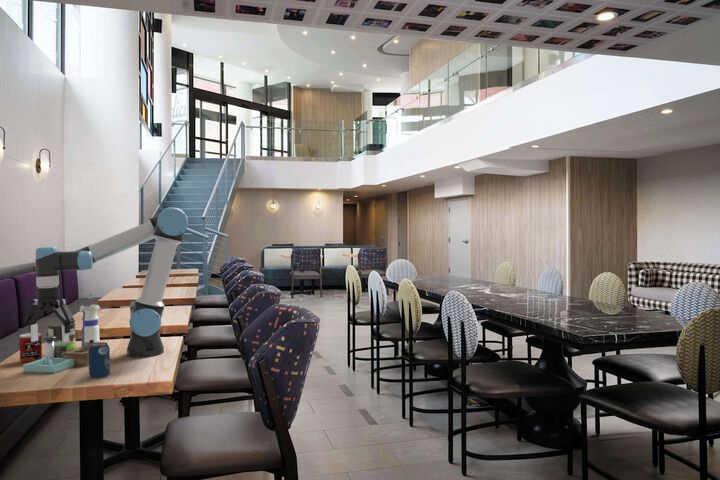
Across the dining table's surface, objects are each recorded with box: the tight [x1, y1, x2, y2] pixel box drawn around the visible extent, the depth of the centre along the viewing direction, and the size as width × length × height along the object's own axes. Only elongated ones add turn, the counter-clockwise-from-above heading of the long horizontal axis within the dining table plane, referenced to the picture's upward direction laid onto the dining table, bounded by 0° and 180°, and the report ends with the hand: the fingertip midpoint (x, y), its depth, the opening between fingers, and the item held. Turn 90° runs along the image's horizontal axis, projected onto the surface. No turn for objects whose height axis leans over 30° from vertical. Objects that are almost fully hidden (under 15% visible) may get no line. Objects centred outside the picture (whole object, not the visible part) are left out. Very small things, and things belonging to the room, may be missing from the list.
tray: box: [22, 357, 75, 375], centre depth 203 cm, size 13×11×3 cm
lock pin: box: [42, 335, 56, 365], centre depth 203 cm, size 4×4×12 cm
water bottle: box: [79, 292, 101, 347], centre depth 243 cm, size 8×9×25 cm
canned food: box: [19, 332, 43, 364], centre depth 217 cm, size 8×8×11 cm
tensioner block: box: [63, 340, 101, 367], centre depth 215 cm, size 14×10×8 cm
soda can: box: [88, 341, 111, 379], centre depth 193 cm, size 7×7×12 cm
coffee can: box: [47, 322, 76, 358], centre depth 224 cm, size 10×10×14 cm
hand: (50, 341), depth 203 cm, fingers open, 13 cm apart
